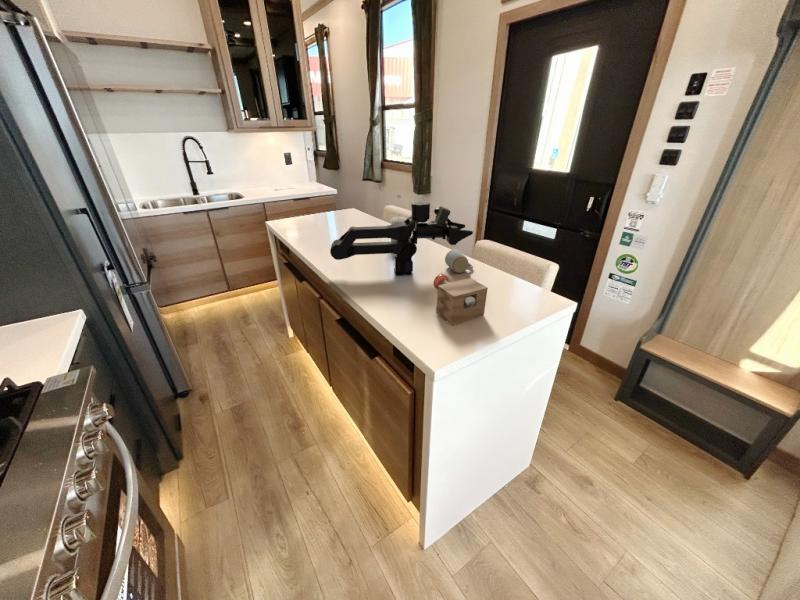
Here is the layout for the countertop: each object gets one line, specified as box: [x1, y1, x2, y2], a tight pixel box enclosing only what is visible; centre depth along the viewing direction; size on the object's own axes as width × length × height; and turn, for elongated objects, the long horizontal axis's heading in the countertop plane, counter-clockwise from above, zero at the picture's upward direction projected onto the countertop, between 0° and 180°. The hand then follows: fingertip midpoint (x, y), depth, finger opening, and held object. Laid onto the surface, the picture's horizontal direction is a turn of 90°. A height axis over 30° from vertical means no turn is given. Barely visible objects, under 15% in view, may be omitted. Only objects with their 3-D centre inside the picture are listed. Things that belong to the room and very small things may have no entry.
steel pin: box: [433, 273, 475, 307], centre depth 98 cm, size 16×5×5 cm, turn 28°
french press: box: [389, 193, 407, 242], centre depth 148 cm, size 10×12×25 cm
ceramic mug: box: [444, 248, 474, 274], centre depth 128 cm, size 11×8×8 cm
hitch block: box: [435, 277, 489, 326], centre depth 96 cm, size 8×12×10 cm, turn 118°
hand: (468, 229), depth 122 cm, fingers open, 9 cm apart
